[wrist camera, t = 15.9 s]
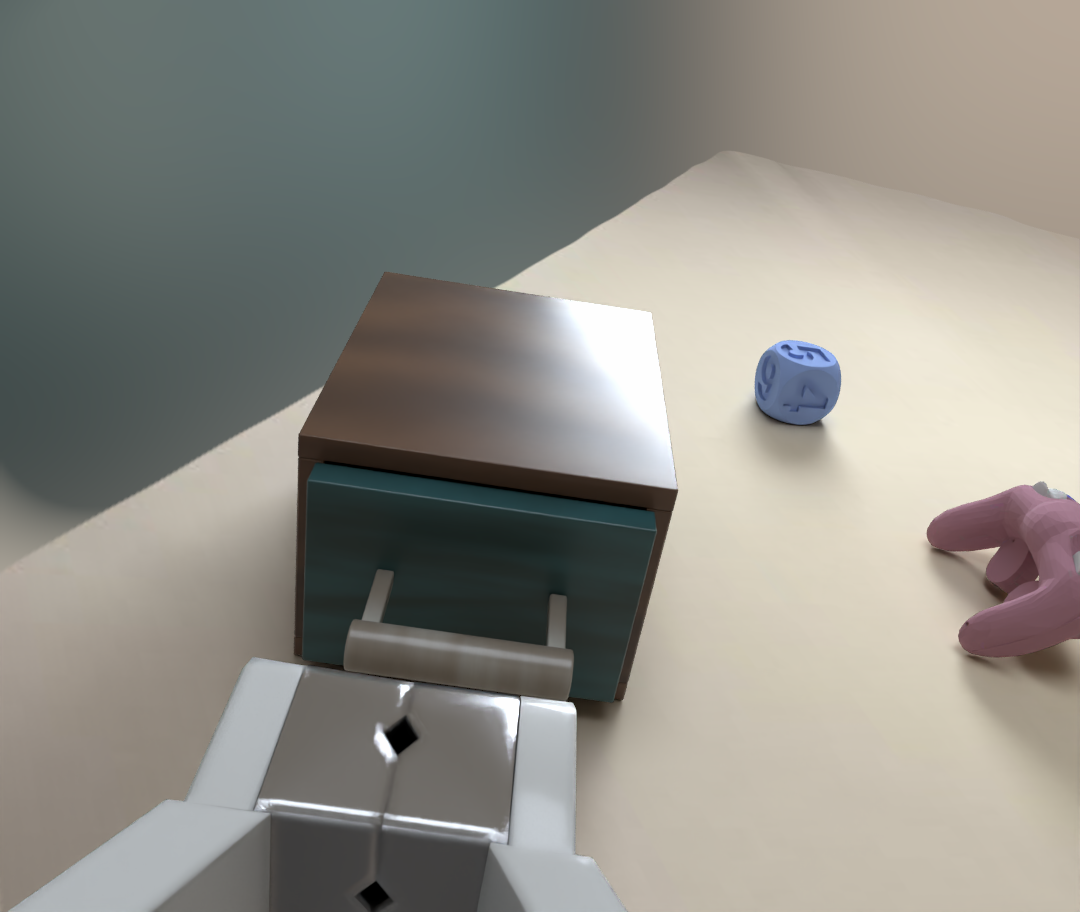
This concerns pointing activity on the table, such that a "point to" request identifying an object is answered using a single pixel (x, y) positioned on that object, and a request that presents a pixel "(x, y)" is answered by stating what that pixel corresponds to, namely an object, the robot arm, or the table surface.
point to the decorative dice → (797, 382)
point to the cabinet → (498, 404)
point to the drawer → (470, 582)
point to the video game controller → (1020, 567)
